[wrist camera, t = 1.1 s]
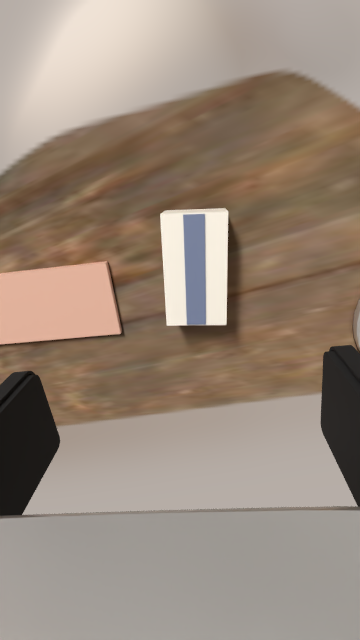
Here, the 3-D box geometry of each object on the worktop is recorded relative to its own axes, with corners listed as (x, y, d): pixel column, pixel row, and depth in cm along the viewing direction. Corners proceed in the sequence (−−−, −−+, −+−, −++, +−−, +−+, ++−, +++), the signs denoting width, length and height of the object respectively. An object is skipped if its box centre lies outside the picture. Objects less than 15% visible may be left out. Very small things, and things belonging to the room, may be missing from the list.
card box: (224, 208, 28) (228, 211, 24) (223, 308, 31) (226, 325, 27) (166, 210, 28) (160, 214, 24) (171, 309, 31) (166, 326, 28)
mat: (107, 261, 30) (105, 262, 29) (122, 331, 32) (120, 333, 32) (-35, 277, 31) (-39, 278, 31) (-10, 342, 34) (-13, 345, 33)
